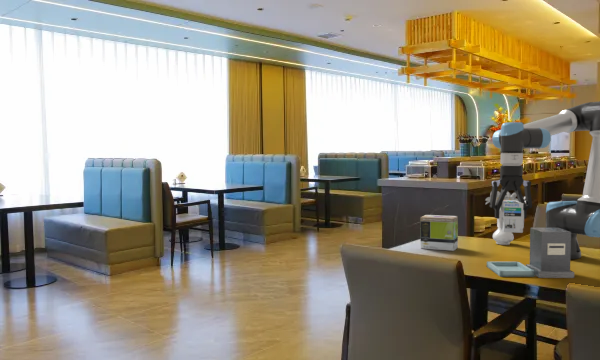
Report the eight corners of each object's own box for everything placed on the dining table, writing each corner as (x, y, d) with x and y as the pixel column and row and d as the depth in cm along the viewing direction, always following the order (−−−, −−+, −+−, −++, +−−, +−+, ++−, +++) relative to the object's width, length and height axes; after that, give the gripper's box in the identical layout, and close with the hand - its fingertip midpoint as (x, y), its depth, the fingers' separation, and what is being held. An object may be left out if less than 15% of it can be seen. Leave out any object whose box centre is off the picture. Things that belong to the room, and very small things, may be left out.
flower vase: (529, 246, 236) (530, 192, 234) (490, 246, 236) (491, 192, 234) (517, 240, 249) (518, 189, 247) (479, 241, 249) (480, 190, 247)
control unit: (558, 269, 190) (559, 227, 189) (574, 277, 178) (575, 232, 177) (525, 269, 191) (526, 227, 190) (539, 277, 179) (540, 232, 178)
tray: (518, 266, 195) (518, 261, 195) (534, 276, 180) (534, 271, 180) (486, 266, 196) (486, 261, 196) (500, 276, 181) (500, 270, 181)
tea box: (458, 247, 234) (458, 215, 233) (453, 251, 225) (454, 218, 224) (425, 245, 241) (425, 213, 240) (419, 248, 232) (420, 216, 231)
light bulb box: (523, 233, 181) (524, 203, 181) (503, 232, 183) (504, 202, 182) (516, 228, 192) (517, 199, 191) (497, 228, 193) (498, 199, 192)
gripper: (486, 165, 183) (485, 229, 184) (544, 165, 182) (542, 229, 183) (480, 164, 190) (479, 225, 191) (535, 164, 189) (534, 225, 190)
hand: (510, 227), depth 187 cm, fingers closed on light bulb box, 7 cm apart
